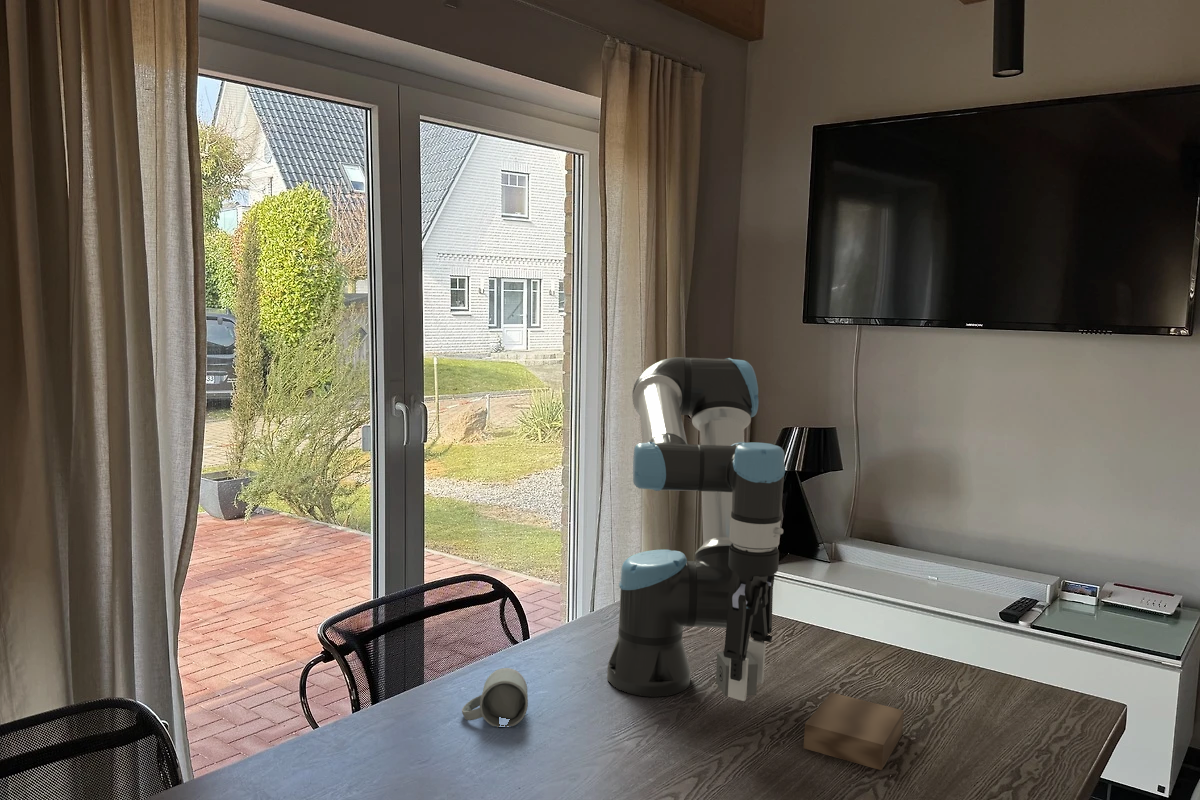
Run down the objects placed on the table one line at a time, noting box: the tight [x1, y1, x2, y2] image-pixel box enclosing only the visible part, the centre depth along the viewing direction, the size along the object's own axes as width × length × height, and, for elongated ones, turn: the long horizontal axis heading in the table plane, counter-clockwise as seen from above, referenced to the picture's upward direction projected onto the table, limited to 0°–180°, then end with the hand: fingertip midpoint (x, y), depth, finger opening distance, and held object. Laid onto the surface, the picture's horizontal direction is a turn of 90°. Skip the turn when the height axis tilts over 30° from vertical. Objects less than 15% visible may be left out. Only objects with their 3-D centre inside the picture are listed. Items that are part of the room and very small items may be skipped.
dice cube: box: [715, 651, 758, 698], centre depth 141 cm, size 5×5×5 cm
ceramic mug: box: [461, 667, 529, 728], centre depth 148 cm, size 11×8×8 cm
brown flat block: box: [803, 691, 905, 771], centre depth 144 cm, size 12×14×4 cm
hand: (745, 689), depth 140 cm, fingers closed on dice cube, 7 cm apart
